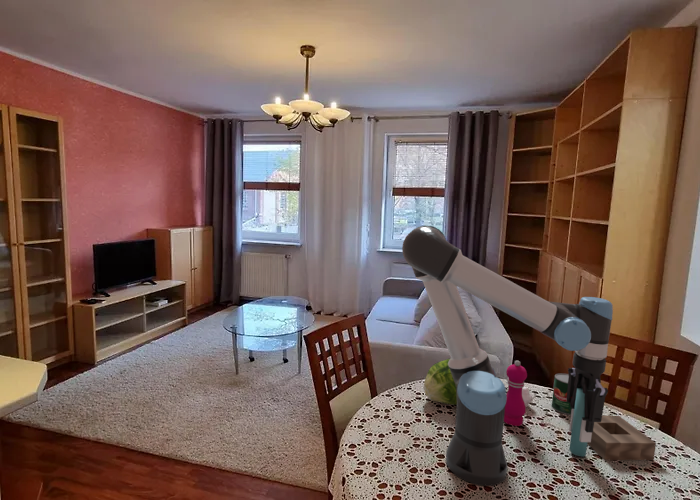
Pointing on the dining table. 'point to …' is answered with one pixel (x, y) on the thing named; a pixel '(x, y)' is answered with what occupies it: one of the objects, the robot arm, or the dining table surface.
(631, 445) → the socket block
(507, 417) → the pepper mill
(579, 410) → the peg
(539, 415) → the dining table surface
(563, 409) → the canned tomato
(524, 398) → the white citrus juicer
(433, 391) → the lettuce
